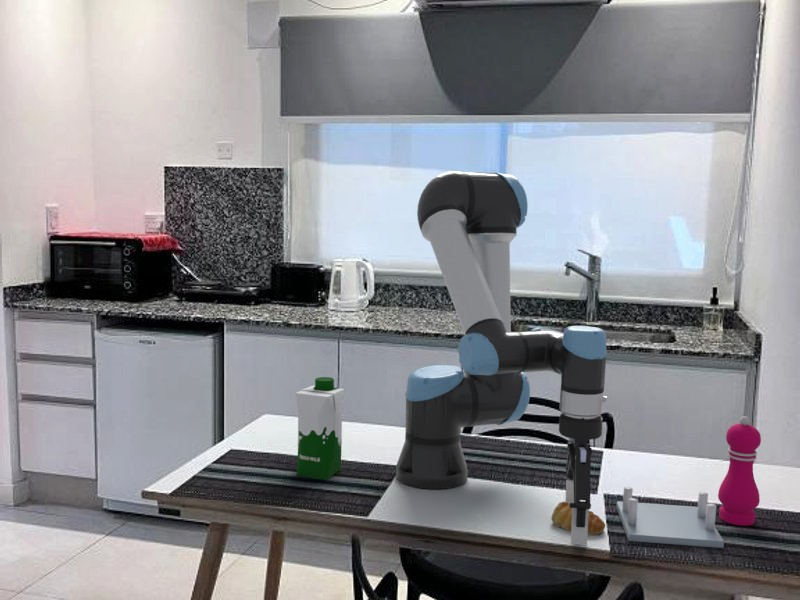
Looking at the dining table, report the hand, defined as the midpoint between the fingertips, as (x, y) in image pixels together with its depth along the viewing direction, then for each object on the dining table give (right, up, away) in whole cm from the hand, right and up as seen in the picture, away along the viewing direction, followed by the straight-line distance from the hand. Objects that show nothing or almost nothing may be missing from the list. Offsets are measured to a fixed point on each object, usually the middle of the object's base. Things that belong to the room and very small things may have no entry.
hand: (575, 528), depth 148 cm
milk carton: (-49, +4, +26) cm, 56 cm away
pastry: (0, 0, +2) cm, 2 cm away
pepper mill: (+32, 0, +6) cm, 33 cm away
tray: (+17, 0, +2) cm, 17 cm away
